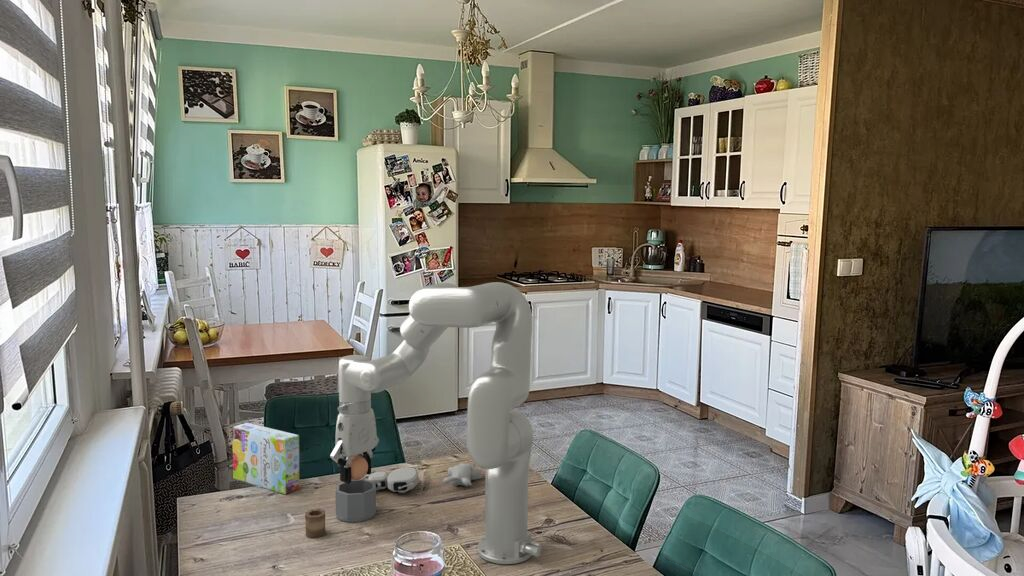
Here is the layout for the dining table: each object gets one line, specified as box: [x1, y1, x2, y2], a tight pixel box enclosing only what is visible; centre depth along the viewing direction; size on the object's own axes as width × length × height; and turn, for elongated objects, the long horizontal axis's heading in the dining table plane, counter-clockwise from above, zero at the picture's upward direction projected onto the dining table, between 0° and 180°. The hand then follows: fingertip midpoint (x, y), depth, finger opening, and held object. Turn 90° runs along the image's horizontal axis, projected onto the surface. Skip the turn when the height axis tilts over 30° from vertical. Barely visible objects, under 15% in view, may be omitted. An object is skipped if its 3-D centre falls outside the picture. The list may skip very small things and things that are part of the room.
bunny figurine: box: [442, 462, 483, 488], centre depth 196 cm, size 10×5×15 cm
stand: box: [304, 508, 326, 539], centre depth 165 cm, size 4×4×5 cm
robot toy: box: [363, 466, 420, 494], centre depth 192 cm, size 12×4×15 cm
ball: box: [349, 454, 368, 480], centre depth 174 cm, size 6×6×6 cm
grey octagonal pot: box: [335, 478, 377, 523], centre depth 175 cm, size 10×10×7 cm
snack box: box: [231, 422, 300, 495], centre depth 193 cm, size 21×6×15 cm, turn 59°
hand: (355, 476), depth 175 cm, fingers closed on ball, 6 cm apart
